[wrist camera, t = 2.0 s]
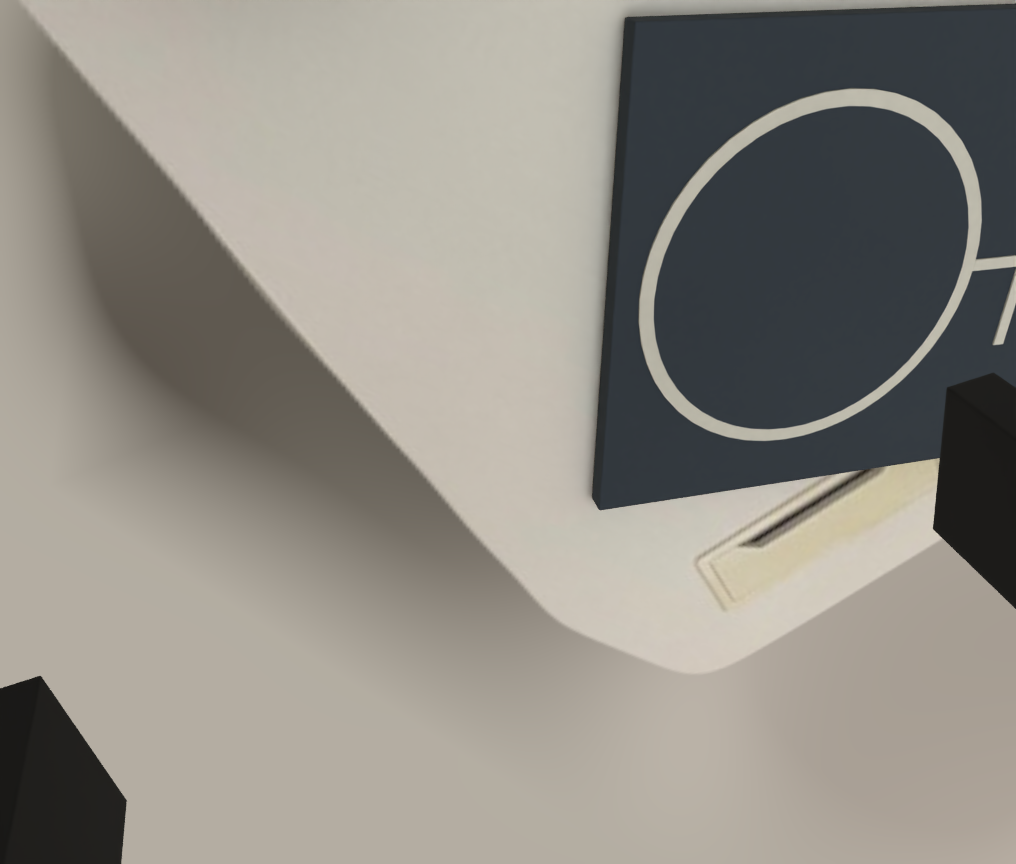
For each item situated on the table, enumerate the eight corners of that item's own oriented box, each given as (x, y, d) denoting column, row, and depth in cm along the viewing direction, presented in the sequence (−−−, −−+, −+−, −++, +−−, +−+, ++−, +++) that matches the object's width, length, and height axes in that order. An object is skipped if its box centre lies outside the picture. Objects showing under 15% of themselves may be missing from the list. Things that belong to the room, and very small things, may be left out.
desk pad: (591, 498, 43) (599, 512, 42) (624, 16, 32) (636, 22, 31) (1043, 430, 48) (1059, 441, 47) (1200, -3, 37) (1224, 1, 36)
